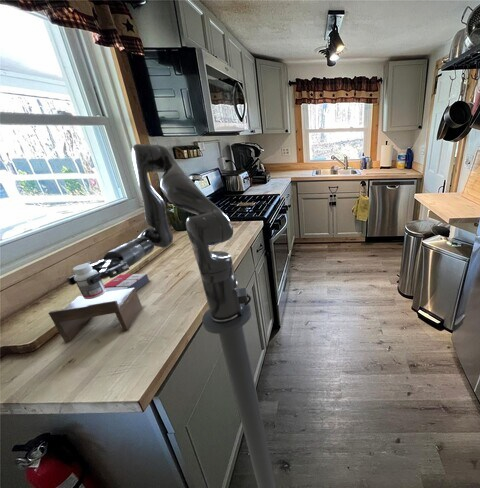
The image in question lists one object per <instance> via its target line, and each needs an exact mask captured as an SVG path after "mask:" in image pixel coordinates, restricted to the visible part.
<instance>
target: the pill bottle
mask: <svg viewBox="0 0 480 488" xmlns="http://www.w3.org/2000/svg"><path fill="white" fill-rule="evenodd" d="M72 271H73V273H74V275H75V274H76V275H75V276H74V280H75V282H76V284H75V285H76V286H77V287H78V289H79V291H80V294H81V296H83V297H84V299H93V298H97V297H99V296H101V295H103V294H104V293H105V292H106V289H105V287H104V285H105V284H104V282H103V281H102V280H103V279H102V280H100V281H98V282H97V283H95V284H93V285H88V283H87V281H86V279H87V278H89V277H91V276H92V275H94V274H96V273H98V272H97V271H96V270H94V269H92V266H91V264H89V263H87V262H86V263H82V264H77V265H76V266H74V267H73V268H72Z"/></svg>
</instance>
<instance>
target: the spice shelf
mask: <svg viewBox="0 0 480 488" xmlns="http://www.w3.org/2000/svg"><path fill="white" fill-rule="evenodd" d="M142 308H143V305H142V303H141V301H140V298H139V295H138V293H137V290H135V288H129V289H122V290H116V291H110V292H105V293H104V294H103V295H101V296H99V297H97V298H93V299H84V297H83V296H82V295H78V296H76V298H74V299H73V300H72V301H71V302H70V303H69V304H68V305H67V306H66V307H64V308H63V309H57V310H51V311H49V312H48V316H49V317H50V319H51V321H52V322H53V324H54V326H55V328H56V329H57V331H58V333H59V335H60V336H61V338H62V340H63V342H64V343H68V342H70V341H71V340H72V339H73V338H74V337H75V336H76V335H77V334H78V332H80V330H81V329H82V328H83V327H84V326H85V325H86V323H87V322H88V321H89V320H90V319H91V318H94V317H100V316H105V315H112V314H115V316H116V318H117V321H118V323H119V325H120V328H121V329H122V332H127V331H129V329H130V328H131V326H132V324H133V323H134V321H135V319H136V318H137V316H138V315H139V313H140V312H141V310H142Z"/></svg>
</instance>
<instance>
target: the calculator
mask: <svg viewBox="0 0 480 488" xmlns="http://www.w3.org/2000/svg"><path fill="white" fill-rule="evenodd" d="M149 281H150V279H149V276H148V274H146V273H133V274H131V273H128V274H127V273H126V274H119V275H117V276H115V277H113V278H112V279H111V280H109V281H108V282H106V283H105V284H103V285H104V287H105V289H106V292H110V291H116V290H122V289H129V288H135V290H136V291H138V290H139V289H140V288H142V287H143V286H145V285H146V283H148V282H149Z"/></svg>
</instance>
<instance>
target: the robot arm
mask: <svg viewBox="0 0 480 488" xmlns="http://www.w3.org/2000/svg"><path fill="white" fill-rule="evenodd" d="M131 159H132V163H133V167H134V168H133V169H134V171H135V176H136V180H137V183H138V188H139V191H140V194H141V199H142V203H143V211H144V221H145V223H146V224H147V225H148V226H150V227H147V228H145V229H144V230H142V232H141V233H140V234H139V235H138V236H137V237H136V238H134V239H132V240H131V241H128V242H125V243H123V244H121V245H119V246H117V247H115V248H113V249H111V250H109V251H107V252H106V253H105V254H104V256H103V259H101V260H100V259H99V260H98V261H96V262H94V263H93V262H92V261H87V262H86V263H89V264H91V266H92V269H94V270H96V271H97V272H98V273H96V274H94V275H92V276H91V277H89V278H87V279H86V281H87V283H88V285H93V284H95V283H97V282H98V281H100V280H106V279H108V278H109V279H114V278H116V277H118V276H119V275H122V274H123V273H125V272H127V271H129V270H130V268H131V267H132V266H134V265H135V264H137V263H138V262H140V261H141V260H142V259H144V258H145V257H146V256H148V255H150V254H151V253H152V252H154V250H155V247H157V248H161V249H167V248H169V247H170V246H172V244H173V241H174V234H173V231H172V229H171V226H170V224H169V221H168V216H167V206H166V202H165V200H164V198H163V197H162V196H161V194H159V192H158V191H157V190H156V189H155V188H154V186H153V185H152V184H151V182H150V179H149V175H148V173H163V174H162V176H161V178H160V184H159V187H160V190H161V192H162V193H163V195H164V196H165V198H166V199H167V200H168V202H169V203H170V204H171V205H173V206H174V207H176V208H178V209H180V210H183V211H186V212H187V213H191V214H195V215H191V216H188V217H187V218H186V220H185V229H186V233H187V236H188V239H189V242H190V244H191V248H192V251H193V255H194V259H195V261H196V264H197V268H198V270H199V276H200V279H201V283H202V286H203V290H204V293H205V298H206V301H207V306H208V310H209V309H210V314H211V318H212V320H213V321H214V322H217V323H226V322H230V321H232V320H234V319H236V318H237V317H241V316H242V304H243V303H245V304H244V305H245V306H246V305H247V304H249V303H250V302H251V301H252V297H251V296H250V295H249V293H248V289H247V287H242V288H241V287H240V286H239V283H238V281H237V279H236V274H235V268H234V264H233V258H232V256H231V254H230V253H229V252H226V251H222V250H220V251H219V250H210V248H209V247H213V246H216V245H219V244H222V243H225V242H227V241H229V240H231V238H233V236H234V228H233V224H232V222H231V220H230V219H229V217H228V215H227V214H226V213H224V211H223V210H222V209H220V208H219V207H218V206H217V205H216V204H215V203H214V202H213V201H211V200H210V199H209V198H208V197H207V196H206V195H205V194H204V193H203V192H202V191H201V189H200V188H199V187H198V186H197V184H196V183H195V182H194V181H193V180H192V178H191V177H189V176H188V175H187V173H185V171H184V170H183V169H182V168H181V167H180V165H179V163H178V162H177V161H176V159H175V158H174V156H173V155H172V153H171V151H170V150H169V149H168V148H167V147H166V146H163V145H160V144H145V143H142V144H141V143H136V144H133V146H132V148H131ZM75 275H76V274H75V273H74V274H73V275H72V276H69V277H67V278H66V281H67V283H68V285H69V286H75V285H77V284H76V282H75V280H74V276H75ZM239 287H240V288H239Z"/></svg>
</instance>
